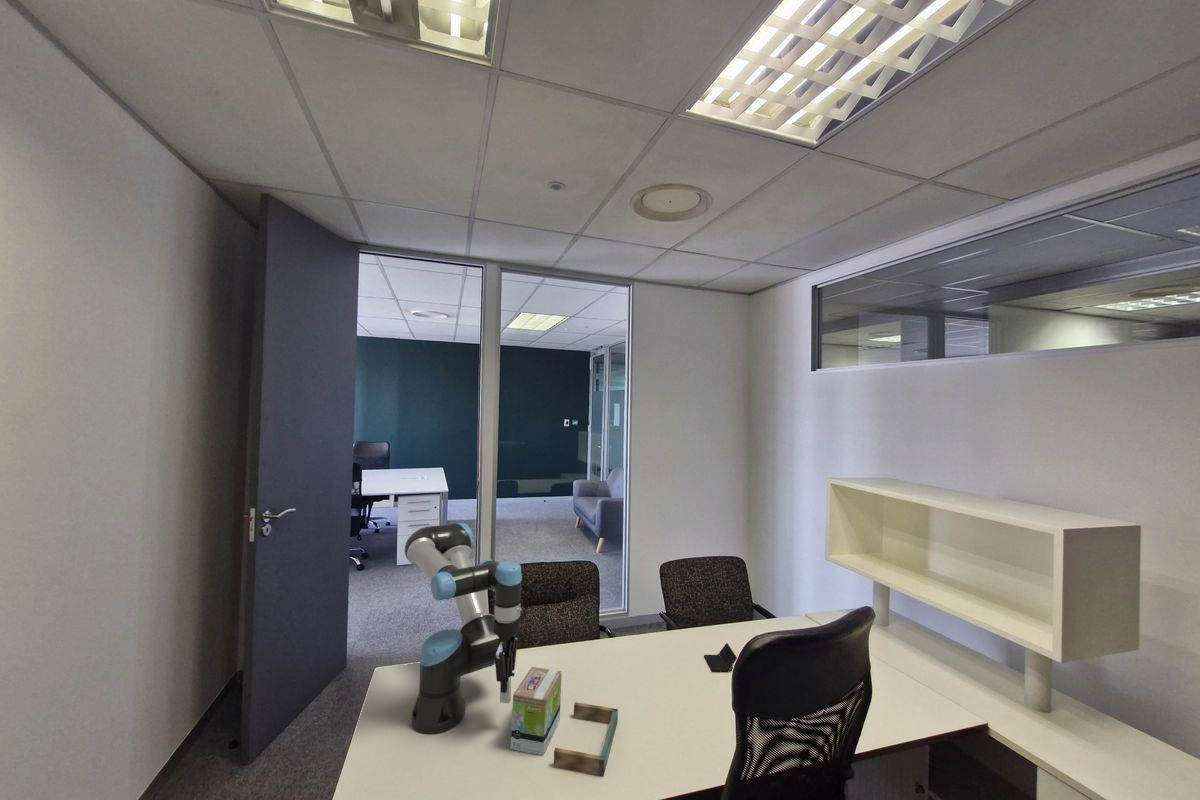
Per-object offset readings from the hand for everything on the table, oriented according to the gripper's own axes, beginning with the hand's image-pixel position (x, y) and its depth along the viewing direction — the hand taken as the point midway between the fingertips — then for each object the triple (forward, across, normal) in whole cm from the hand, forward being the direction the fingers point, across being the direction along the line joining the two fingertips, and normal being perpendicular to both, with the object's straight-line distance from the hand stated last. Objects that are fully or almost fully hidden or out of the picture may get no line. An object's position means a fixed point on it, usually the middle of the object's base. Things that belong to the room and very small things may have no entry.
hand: (505, 701), depth 129 cm
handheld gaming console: (+8, +52, -63) cm, 82 cm away
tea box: (+8, 0, -10) cm, 13 cm away
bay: (+8, 0, -24) cm, 25 cm away
